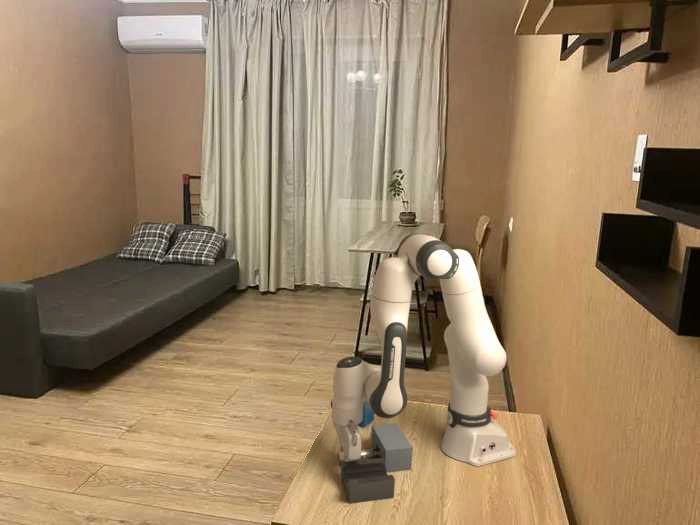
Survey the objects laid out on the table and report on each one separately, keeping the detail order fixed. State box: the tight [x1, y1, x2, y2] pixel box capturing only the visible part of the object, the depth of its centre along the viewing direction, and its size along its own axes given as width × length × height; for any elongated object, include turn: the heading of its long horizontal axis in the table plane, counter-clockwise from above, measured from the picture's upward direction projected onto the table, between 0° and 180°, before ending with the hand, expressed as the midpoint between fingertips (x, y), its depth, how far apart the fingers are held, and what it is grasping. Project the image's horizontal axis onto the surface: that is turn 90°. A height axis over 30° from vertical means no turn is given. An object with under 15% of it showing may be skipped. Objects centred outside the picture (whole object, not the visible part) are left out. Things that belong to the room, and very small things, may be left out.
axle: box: [337, 448, 380, 464], centre depth 153 cm, size 12×3×3 cm, turn 104°
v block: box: [340, 458, 396, 504], centre depth 140 cm, size 12×10×6 cm
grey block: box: [370, 422, 413, 474], centre depth 155 cm, size 8×14×7 cm, turn 14°
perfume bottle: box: [357, 401, 375, 429], centre depth 175 cm, size 6×6×12 cm
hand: (345, 456), depth 152 cm, fingers closed on axle, 3 cm apart
